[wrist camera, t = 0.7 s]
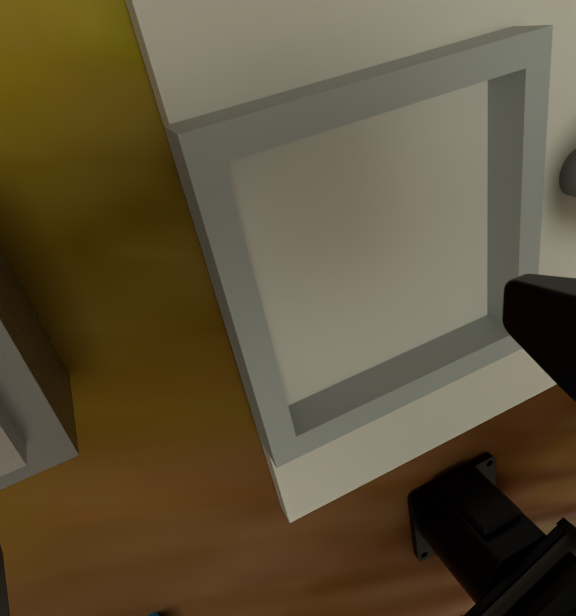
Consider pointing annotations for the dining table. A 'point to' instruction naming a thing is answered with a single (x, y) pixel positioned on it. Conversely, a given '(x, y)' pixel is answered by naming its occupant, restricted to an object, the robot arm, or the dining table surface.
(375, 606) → the dining table surface
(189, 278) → the dining table surface
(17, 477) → the block
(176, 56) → the chassis
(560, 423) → the dining table surface
